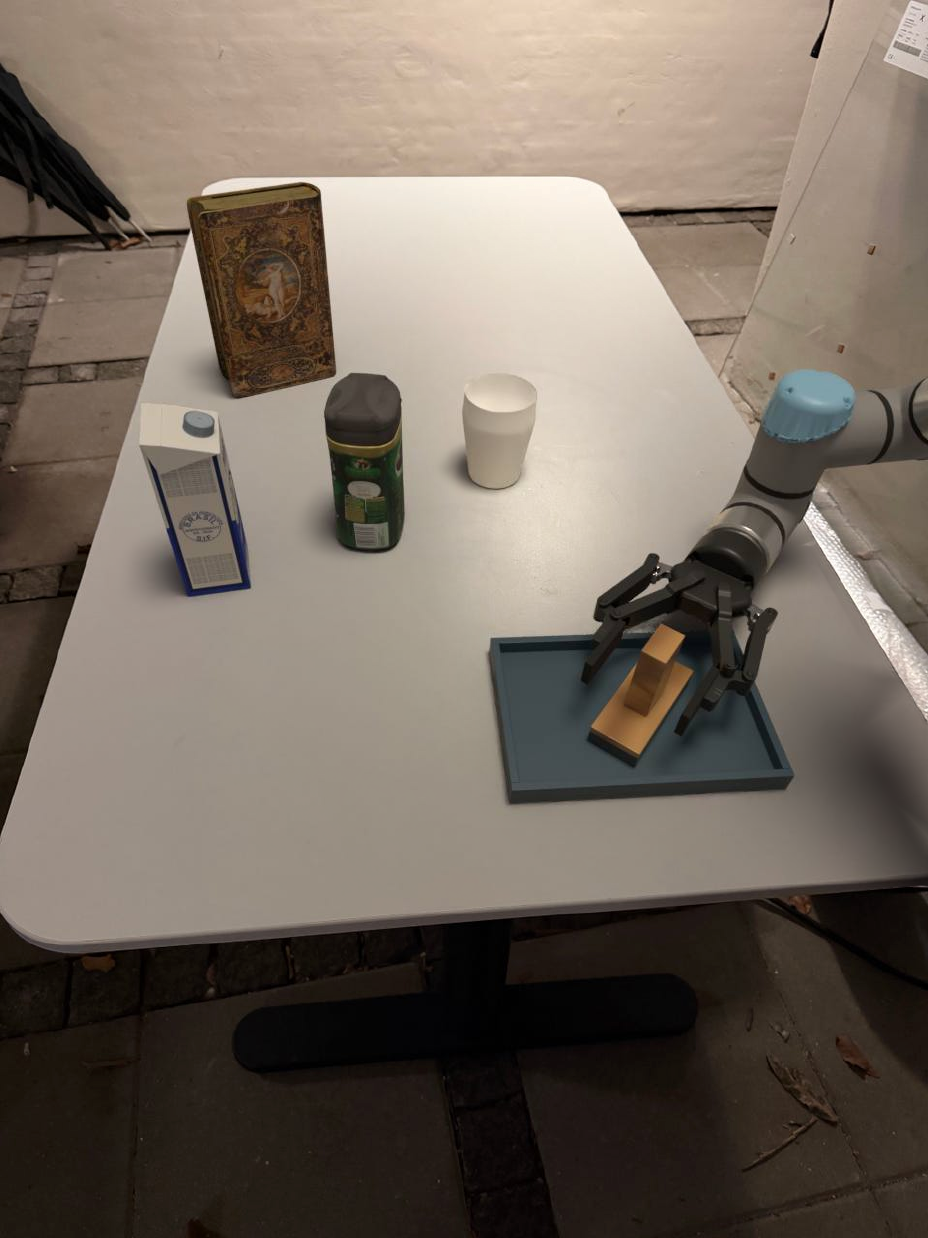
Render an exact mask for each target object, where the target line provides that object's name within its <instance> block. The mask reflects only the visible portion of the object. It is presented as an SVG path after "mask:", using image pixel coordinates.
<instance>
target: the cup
mask: <svg viewBox="0 0 928 1238" xmlns="http://www.w3.org/2000/svg"><path fill="white" fill-rule="evenodd" d="M537 401H538V391H537V389H536V387H535V386H534V385H533V384H532V383H531V382H530V381H528V380H527V379H525V378H523V377H521V376H518V375H515V374H510V373H505V372H504V373H503V372H492V373H491V372H490V373H485V374H481V375H477V376H475V377H473V378H472V379H470V380H469V381H468V382H466V385H465V387H464V393H463V404H462V408H461V409H462V410H461V415H462V416H461V417H462V425H463V434H464V443H465V452H466V461H467V470H468V477H470V479H471V480H472V481H473V482H474V483H475V484H476V485H479V486H481V487H484V488H487V489H494V490H495V489H497V490H498V489H505V488H508V487H510V486H512V485H514V484H515V483H517V481H518V480H519V479H520V478H519V477H520V475H521V472H522V468H523V464H524V461H525V458H526V455H527V451H528V448H529V444H530V440H531V437H532V434H533V430H534V427H535V423H536V419H537Z"/></svg>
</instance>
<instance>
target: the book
mask: <svg viewBox="0 0 928 1238" xmlns="http://www.w3.org/2000/svg"><path fill="white" fill-rule="evenodd" d="M186 210H187V215H188V220H189V225H190V230H191V236H192V241H193V245H194V250H195V255H196V260H197V264H198V265H197V266H198V269H199V275H200V279H201V285H202V290H203V294H204V299H205V303H206V309H207V313H208V319H209V324H210V328H211V333H212V338H213V343H214V348H215V352H216V357H217V362H218V368H219V371H220V374H221V376H222V377H223V379H224V380H226V381H229V386H230V389H231V392H232V394H233V395H234V396H235V397H236V398H244V397H249V396H255V395H259V394H264V393H268V392H273V391H277V390H282V389H286V388H289V387H293V386H294V387H295V386H299V385H303V384H308V383H310V382H315V381H320V380H323V379H329V378H332V377H335V376H336V374H337V363H336V353H335V351H336V349H335V339H334V329H333V328H334V327H333V317H332V305H331V293H330V284H329V283H330V282H329V271H328V261H327V260H328V259H327V249H326V238H325V237H326V236H325V226H324V214H323V213H324V212H323V201H322V191H321V189H320V188H319V187H318V186H316V185H315V184H312V183H310V182H306V181H305V182H304V181H298V182H290V183H284V184H276V185H268V186H262V187H261V186H260V187H255V188H247V189H240V190H233V191H232V190H231V191H227V192H226V191H225V192H219V193H218V192H217V193H211V194H204V195H203V194H202V195H197V196H190V197H188V198H187V200H186Z"/></svg>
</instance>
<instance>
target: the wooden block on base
mask: <svg viewBox="0 0 928 1238" xmlns="http://www.w3.org/2000/svg"><path fill="white" fill-rule="evenodd" d="M653 632H654V634H653V635H652V636H651V638H650V639H649V641H648V642H647V643H646V645H645V646H644V647H643V649H642V650H641V653H640V656H639V659H638V662H637V663H636V665H635V666H634V668H633V669H632V670H631V672H630V673H629V674H628V676H627V677H626V679H625V680H624V681H623V683H622V684H621V686H620V687H619V688H618V690H617V691H616V692H615V694H614V695H613V697H612V698H611V699H610V701H609V702H608V703H607V705H606V706H605V708H604V709H603V710H602V712H601V713H600V715H599V716H598V717H597V719H596V720H595V721H594V723H593V724H592V726H591V728H590V731H589V735H588V738H587V741H589V742H591V743H592V744H594V745H596V746H598V747H599V748H601V749H603V750H605V751H606V752H608V753H610V754H611V755H613V756H615V757H617V758H618V759H620V760H622V761H624V762H625V763H627V764H629V765H631V766H632V767H635V766H636V765H637V763H638V761H639V760H640V758H641V757H642V755H643V754H644V752H645V751H646V749H647V747H648V746H649V744H650V743H651V741H652V740H653V738H654V737H655V735H656V734H657V732H658V730H659V729H660V727H661V726H662V724H663V723H664V721H665V720H666V718H667V717H668V715H669V713H670V712H671V710H672V709H673V707H674V706H675V704H676V703H677V701H678V700H679V698H680V696H681V695H682V693H683V692H684V690H685V689H686V687H687V686H688V684H689V681H690V679H691V676H692V674H693V670H691V669H689V668H687V667H685V666H683V665H681V664H679V663H678V662H676V659H677V656H678V654H679V651H680V648H681V646H682V643H683V641H684V638H685V635H683V634H681V633H679V632H677V630H675V629H673V628H671V627H669V626H668V625H665V624H663V623H660V624H659V625H658V627H657V628H656V630H655V631H653Z"/></svg>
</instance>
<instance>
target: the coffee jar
mask: <svg viewBox="0 0 928 1238" xmlns="http://www.w3.org/2000/svg"><path fill="white" fill-rule="evenodd" d="M402 402H403V399H402V397H401V392H400V389H399V387H398V385H396V383H394V382H393V381H392V380H391V379H389V377H388V376H387V375H384V374H377V373H367V372H349V374H348V375H346V376H344V377H343V378H341V379H340V380H338V381H337V382H336V383H335V384H334V385H333V387H332V388H331V389H330V392H329V394H328V396H327V399H326V402H325V406H324V409H323V418H324V428H325V437H326V442H327V448H328V455H329V462H330V472H331V482H332V492H333V502H334V504H333V505H334V514H335V524H336V525H335V526H336V534H337V537H338V539H339V541H340V542H341V543H342V544H344V545H345V546H348V547H350V548H354V549H357V550H363V551H378V550H385V549H388V548H390V547H393V546H394V545H396V543H397V542H399V541H398V540H399V539H400V537H401V535H402V531H403V527H404V523H405V512H406V511H405V510H406V509H405V487H404V485H405V483H404V455H403V453H404V452H403V419H402V418H403V416H402V415H403V414H402V411H403V410H402Z"/></svg>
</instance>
